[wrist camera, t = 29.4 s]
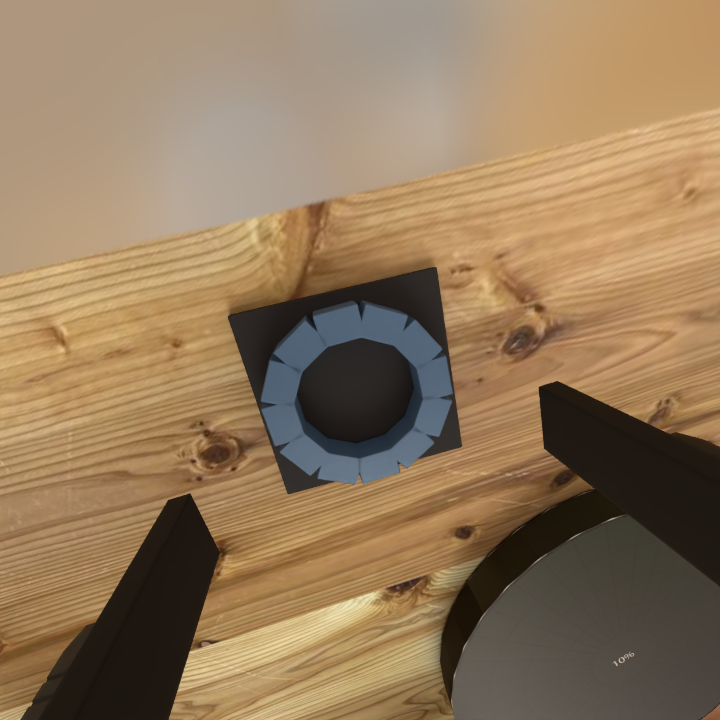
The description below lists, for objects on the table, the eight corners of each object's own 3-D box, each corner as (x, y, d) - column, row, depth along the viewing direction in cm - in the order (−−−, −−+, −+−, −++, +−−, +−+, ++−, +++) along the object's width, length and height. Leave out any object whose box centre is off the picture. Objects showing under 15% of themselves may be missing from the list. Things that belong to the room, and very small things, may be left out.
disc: (659, 406, 25) (705, 425, 22) (787, 597, 33) (832, 628, 30) (366, 652, 28) (372, 697, 25) (554, 769, 36) (575, 812, 33)
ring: (240, 330, 18) (233, 337, 17) (422, 281, 19) (433, 282, 17) (298, 485, 22) (296, 504, 20) (452, 438, 22) (464, 453, 21)
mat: (288, 489, 22) (287, 494, 22) (229, 314, 19) (227, 316, 18) (458, 442, 23) (462, 447, 23) (433, 267, 20) (436, 267, 19)
